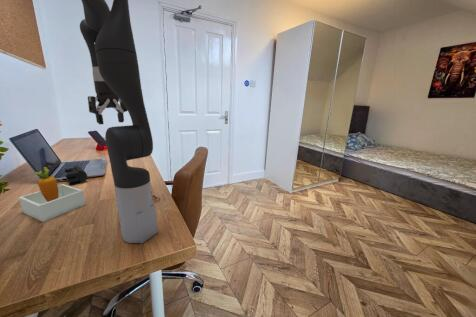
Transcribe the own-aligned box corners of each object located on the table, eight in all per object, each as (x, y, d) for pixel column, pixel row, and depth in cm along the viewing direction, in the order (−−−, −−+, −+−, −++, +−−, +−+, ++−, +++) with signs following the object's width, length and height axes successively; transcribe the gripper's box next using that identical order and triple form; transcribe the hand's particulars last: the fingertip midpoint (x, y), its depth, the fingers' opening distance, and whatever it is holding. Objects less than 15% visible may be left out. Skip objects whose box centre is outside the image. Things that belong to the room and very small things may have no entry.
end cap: (88, 182, 102) (86, 169, 100) (70, 186, 97) (67, 172, 95) (83, 176, 109) (81, 164, 107) (66, 180, 104) (63, 167, 102)
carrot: (53, 210, 75) (41, 171, 70) (41, 209, 76) (29, 170, 71) (66, 203, 80) (56, 166, 75) (55, 202, 80) (44, 165, 76)
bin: (85, 204, 81) (82, 190, 80) (43, 222, 70) (38, 206, 68) (65, 197, 87) (62, 183, 85) (23, 212, 75) (18, 197, 73)
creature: (158, 199, 90) (138, 198, 86) (160, 187, 89) (140, 186, 85) (159, 207, 83) (137, 207, 79) (162, 195, 82) (139, 194, 78)
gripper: (92, 78, 73) (100, 125, 77) (128, 82, 85) (133, 122, 90) (79, 79, 76) (87, 124, 80) (115, 82, 88) (121, 121, 93)
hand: (111, 123), depth 85 cm, fingers open, 8 cm apart
